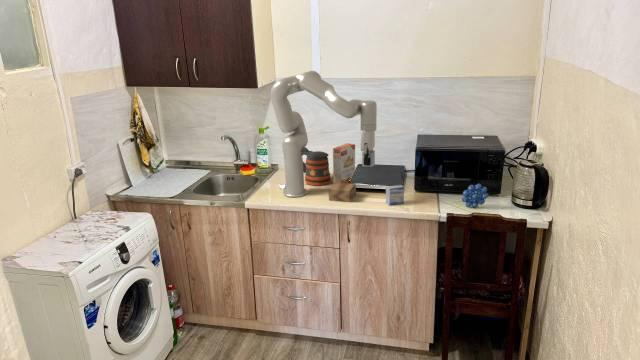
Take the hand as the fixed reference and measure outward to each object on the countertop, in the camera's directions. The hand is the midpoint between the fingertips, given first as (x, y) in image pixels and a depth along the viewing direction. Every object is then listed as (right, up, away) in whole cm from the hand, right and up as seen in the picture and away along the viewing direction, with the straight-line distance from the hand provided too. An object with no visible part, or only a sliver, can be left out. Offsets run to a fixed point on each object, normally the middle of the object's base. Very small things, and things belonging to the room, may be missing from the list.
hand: (368, 163), depth 231 cm
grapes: (+49, -21, -8) cm, 54 cm away
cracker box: (-10, -10, +34) cm, 37 cm away
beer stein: (-27, -9, +37) cm, 46 cm away
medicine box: (+13, -20, +1) cm, 24 cm away
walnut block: (-12, -17, +10) cm, 24 cm away
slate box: (0, -1, 0) cm, 1 cm away
